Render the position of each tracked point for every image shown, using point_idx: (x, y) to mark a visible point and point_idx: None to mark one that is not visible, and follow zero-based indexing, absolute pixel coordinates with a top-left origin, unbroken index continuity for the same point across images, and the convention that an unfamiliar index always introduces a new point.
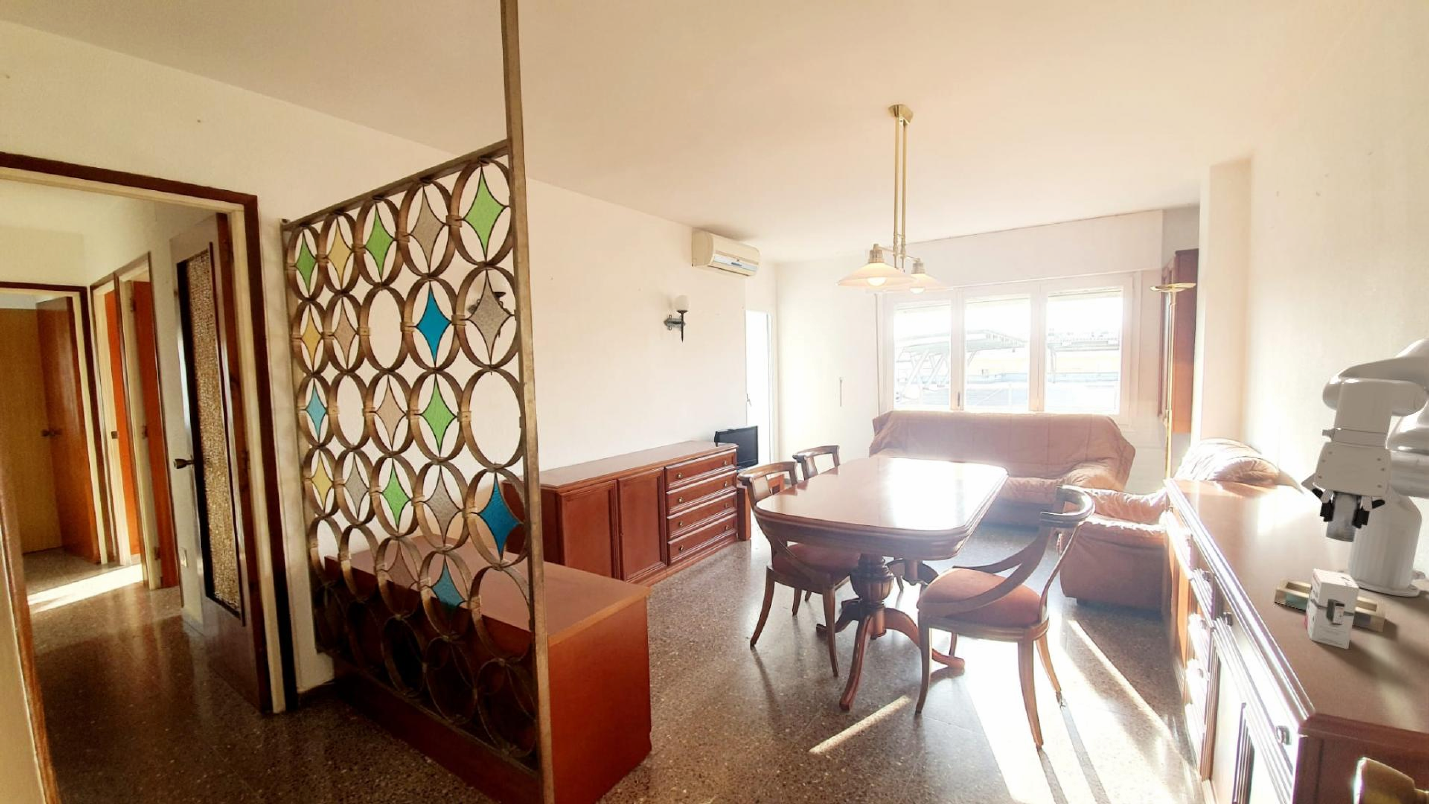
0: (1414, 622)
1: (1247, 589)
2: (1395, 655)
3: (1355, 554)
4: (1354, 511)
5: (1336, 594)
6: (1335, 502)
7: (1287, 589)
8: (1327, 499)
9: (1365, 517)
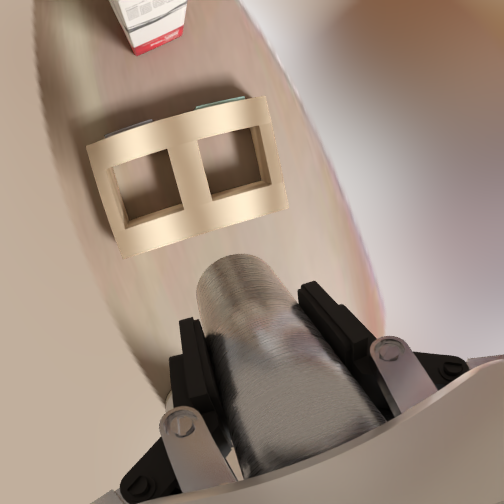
0: (99, 281)
1: (309, 133)
2: (58, 52)
3: None
4: (230, 375)
5: None
6: (340, 370)
7: (252, 119)
8: (383, 360)
9: (181, 380)
